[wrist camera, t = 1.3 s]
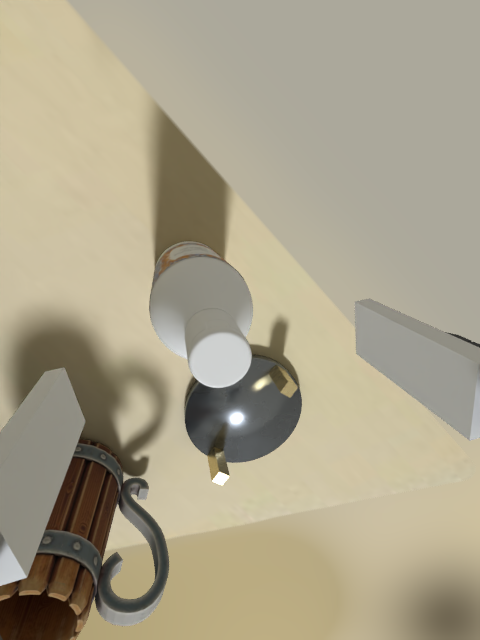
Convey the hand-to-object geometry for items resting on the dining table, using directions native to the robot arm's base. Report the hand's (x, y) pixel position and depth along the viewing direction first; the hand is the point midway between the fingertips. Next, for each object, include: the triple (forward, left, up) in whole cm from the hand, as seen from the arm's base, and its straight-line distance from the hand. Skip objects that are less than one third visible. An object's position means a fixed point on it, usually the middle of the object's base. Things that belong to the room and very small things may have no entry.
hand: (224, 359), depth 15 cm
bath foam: (0, 0, -20) cm, 20 cm away
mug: (-15, -21, -20) cm, 33 cm away
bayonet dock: (+3, -17, -20) cm, 26 cm away
